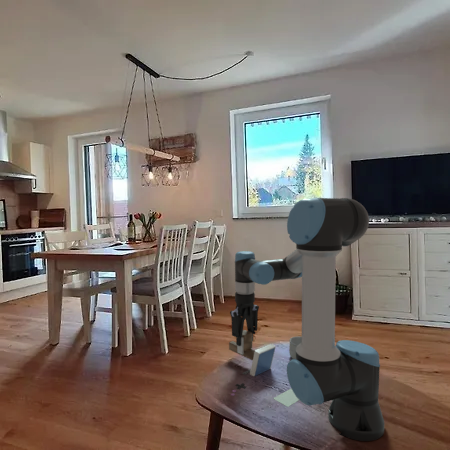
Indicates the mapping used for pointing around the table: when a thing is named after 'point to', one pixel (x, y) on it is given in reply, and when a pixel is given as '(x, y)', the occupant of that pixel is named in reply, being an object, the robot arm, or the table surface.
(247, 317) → the robot arm
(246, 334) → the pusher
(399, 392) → the table surface
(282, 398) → the rest board
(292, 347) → the teacup
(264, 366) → the tile
